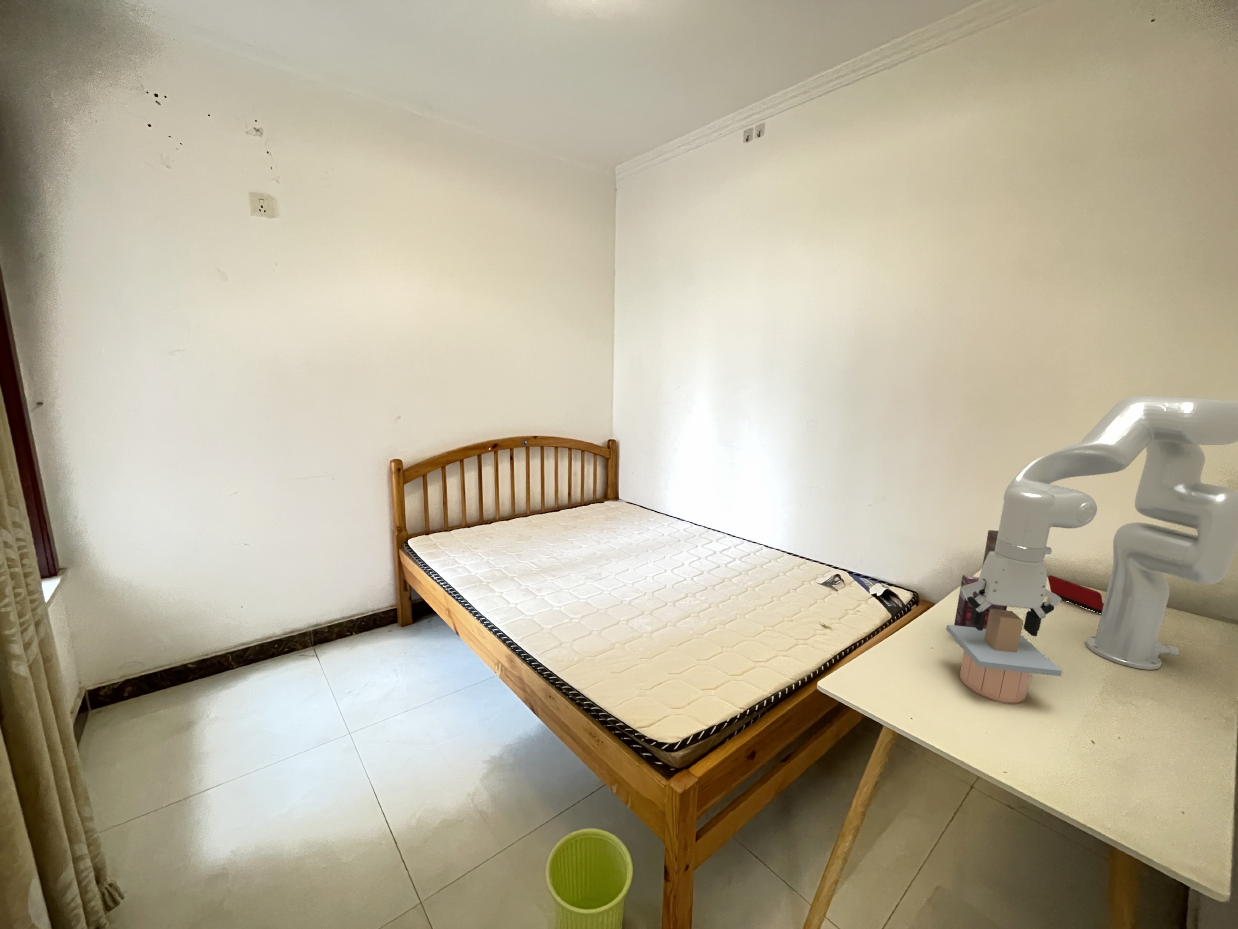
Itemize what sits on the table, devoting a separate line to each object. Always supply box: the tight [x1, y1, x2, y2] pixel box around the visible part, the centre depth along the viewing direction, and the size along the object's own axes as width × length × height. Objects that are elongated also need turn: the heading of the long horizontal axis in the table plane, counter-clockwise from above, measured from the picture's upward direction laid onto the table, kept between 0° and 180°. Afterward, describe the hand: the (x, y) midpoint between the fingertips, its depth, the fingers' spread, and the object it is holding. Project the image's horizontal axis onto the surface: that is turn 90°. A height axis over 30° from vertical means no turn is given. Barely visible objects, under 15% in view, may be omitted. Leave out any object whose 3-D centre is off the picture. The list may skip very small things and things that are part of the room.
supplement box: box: [953, 574, 1008, 629], centre depth 119 cm, size 9×5×16 cm, turn 71°
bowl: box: [959, 649, 1032, 705], centre depth 103 cm, size 11×11×8 cm
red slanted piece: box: [1047, 575, 1104, 614], centre depth 141 cm, size 12×11×7 cm
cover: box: [945, 609, 1063, 677], centre depth 102 cm, size 14×14×8 cm
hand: (1003, 630), depth 101 cm, fingers open, 9 cm apart
